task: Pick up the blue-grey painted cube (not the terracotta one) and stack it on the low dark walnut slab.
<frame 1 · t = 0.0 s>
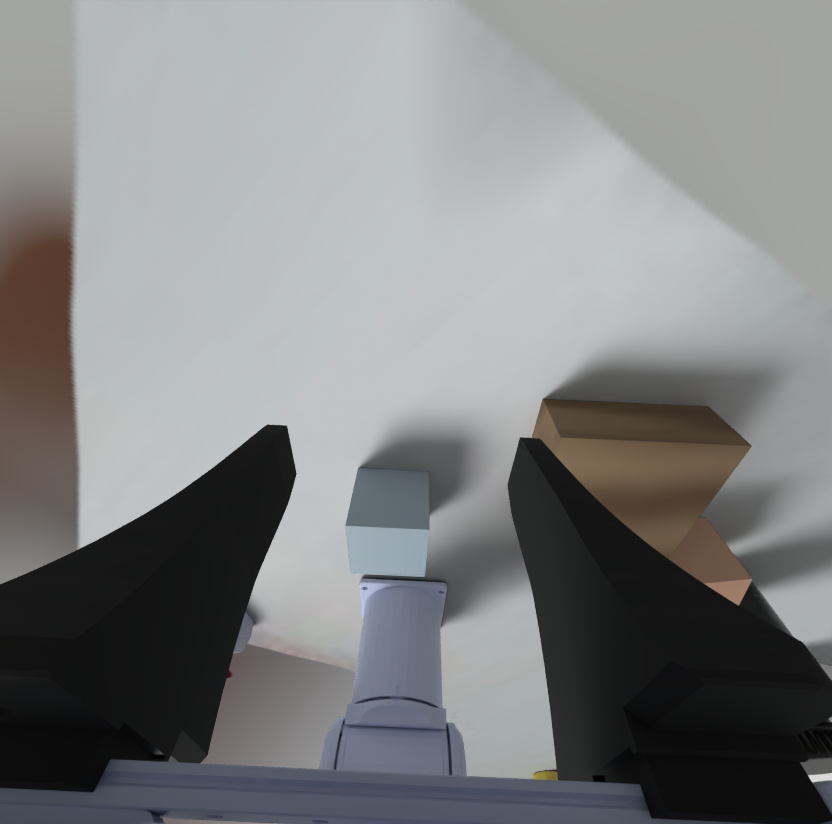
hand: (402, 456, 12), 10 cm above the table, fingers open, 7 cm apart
terracotta cube: (664, 540, 30), on the table
stone block: (195, 610, 39), on the table
supplement bottle: (701, 583, 33), on the table
plant pot: (549, 773, 72), on the table
blue-grey cube: (393, 493, 27), on the table
walnut slab: (596, 460, 25), on the table
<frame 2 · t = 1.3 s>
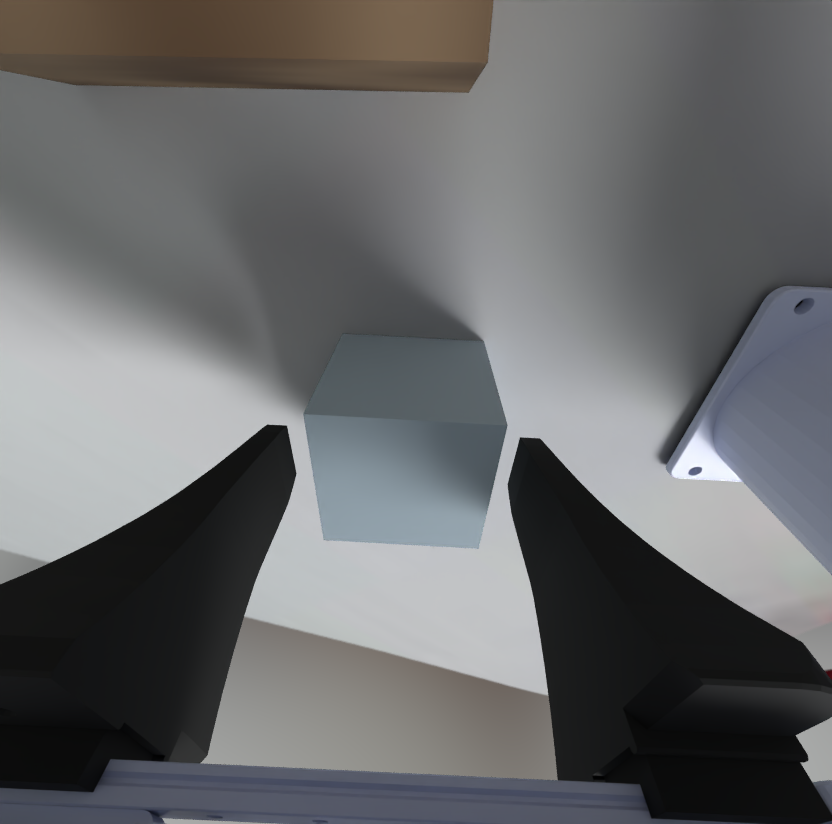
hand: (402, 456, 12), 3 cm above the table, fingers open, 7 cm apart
blue-grey cube: (410, 395, 15), on the table
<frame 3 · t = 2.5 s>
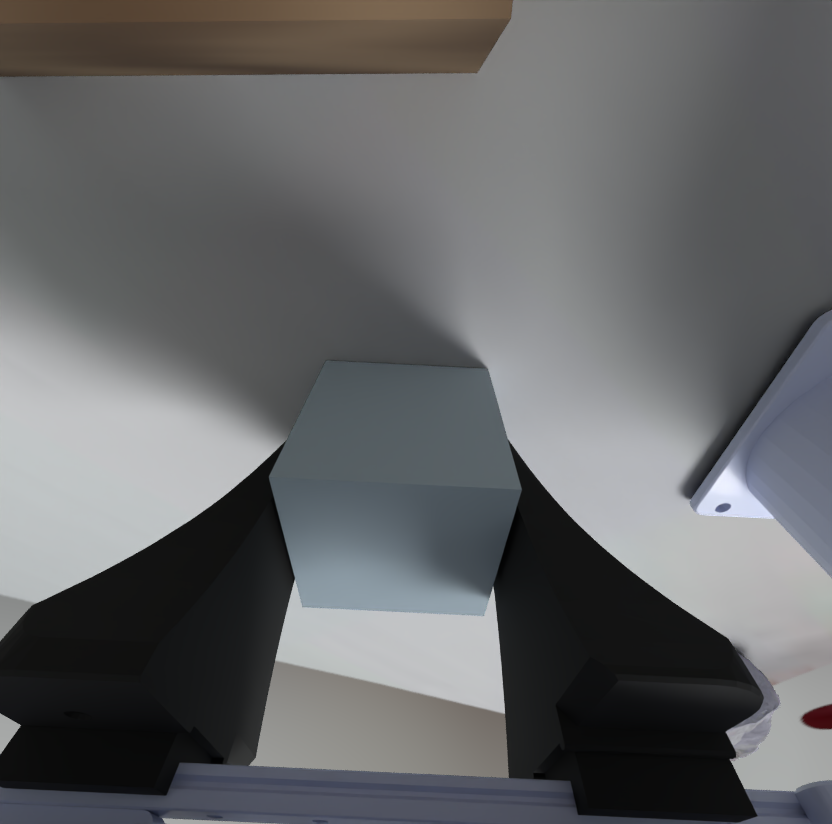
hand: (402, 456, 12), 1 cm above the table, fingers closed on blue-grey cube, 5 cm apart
stone block: (667, 681, 26), on the table
blue-grey cube: (404, 428, 13), on the table, touching gripper
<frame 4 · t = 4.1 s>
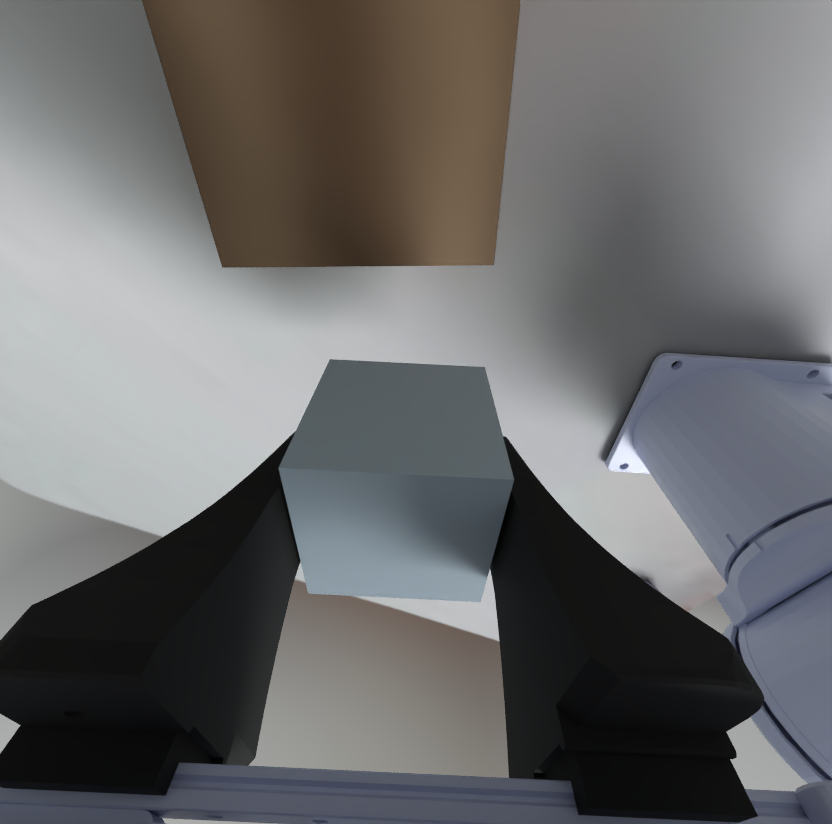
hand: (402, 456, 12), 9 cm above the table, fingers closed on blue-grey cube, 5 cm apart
blue-grey cube: (405, 424, 13), point 7 cm above the table, touching gripper
walnut slab: (359, 101, 14), on the table
when the fingers open (7 cm above the table, at t = 6.0 s): blue-grey cube stays where it is, point 4 cm above the table.
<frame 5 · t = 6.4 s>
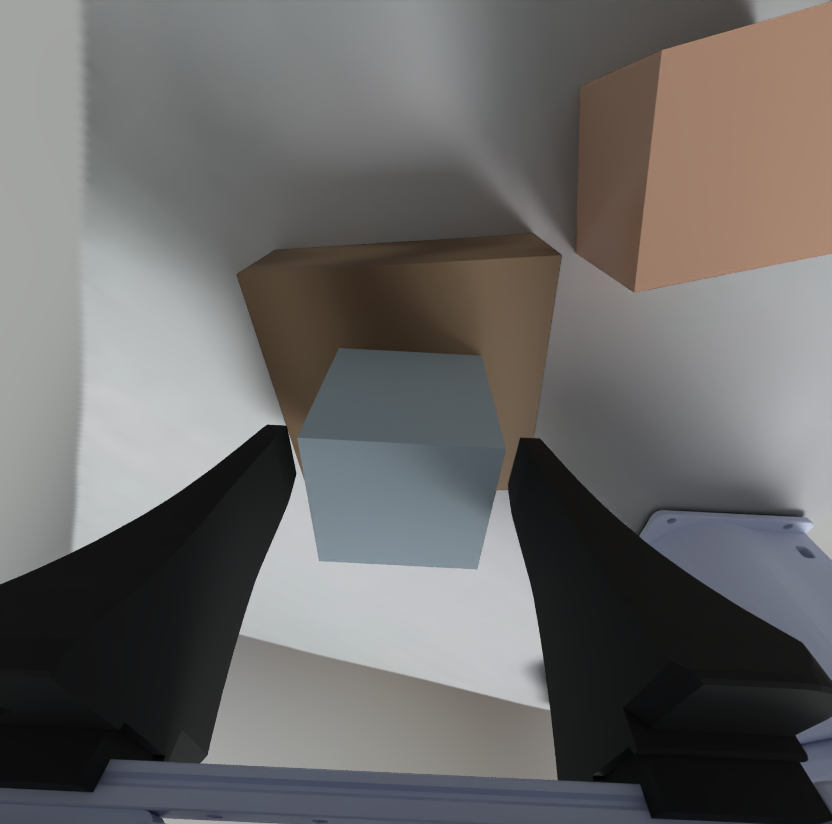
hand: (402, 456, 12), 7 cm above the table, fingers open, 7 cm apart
terracotta cube: (653, 160, 13), on the table
blue-grey cube: (408, 410, 14), point 4 cm above the table
walnut slab: (411, 354, 17), on the table
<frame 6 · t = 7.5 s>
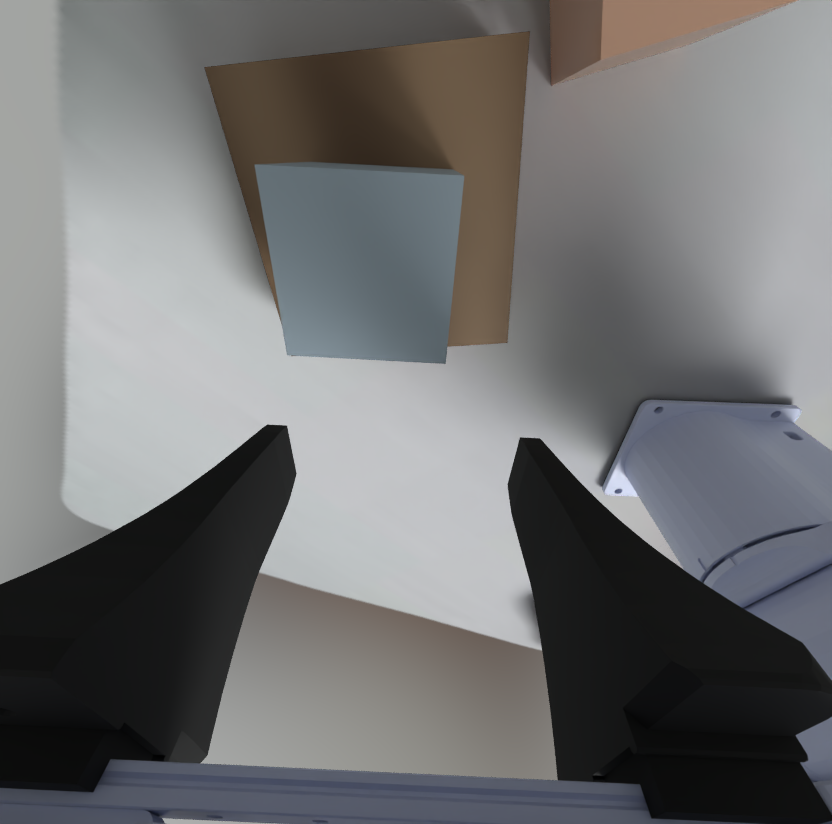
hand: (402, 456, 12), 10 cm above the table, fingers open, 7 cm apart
blue-grey cube: (382, 243, 14), point 4 cm above the table, touching walnut slab
walnut slab: (391, 215, 17), on the table, touching blue-grey cube
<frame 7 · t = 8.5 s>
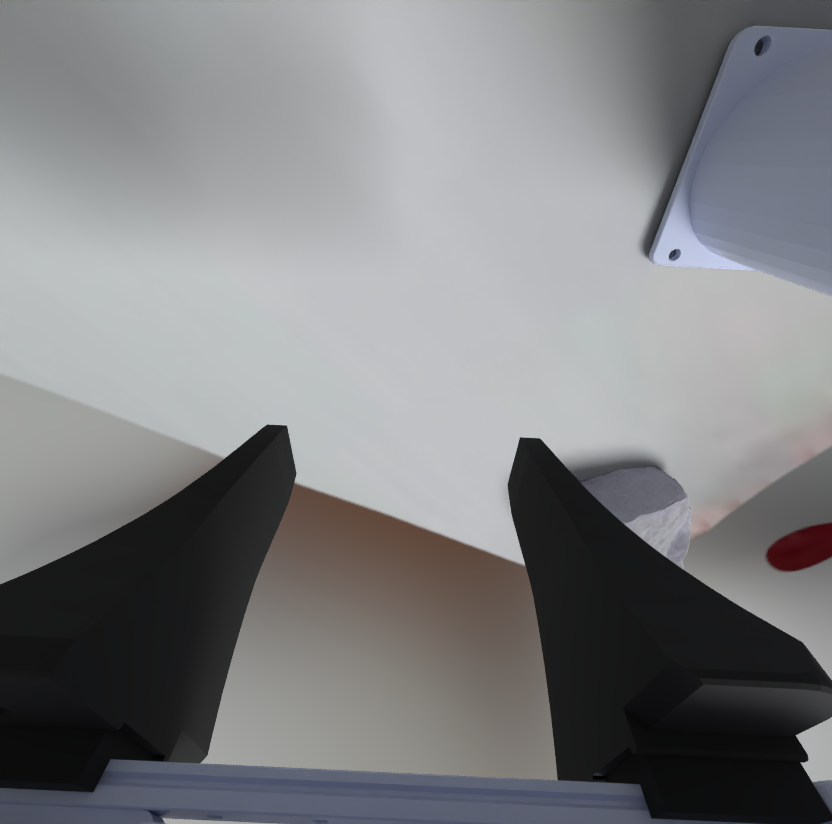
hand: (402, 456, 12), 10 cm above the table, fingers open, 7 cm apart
stone block: (607, 518, 30), on the table
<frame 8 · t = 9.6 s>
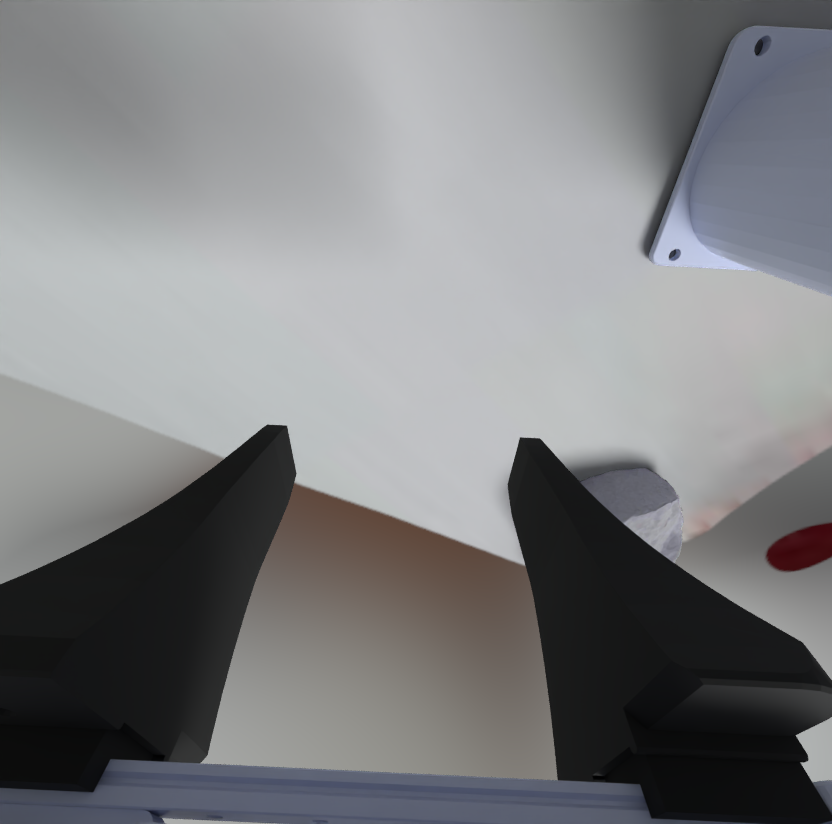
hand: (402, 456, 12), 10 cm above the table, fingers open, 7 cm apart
stone block: (600, 519, 30), on the table
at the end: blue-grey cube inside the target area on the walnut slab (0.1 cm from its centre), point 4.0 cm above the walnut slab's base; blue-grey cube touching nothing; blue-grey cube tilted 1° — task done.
